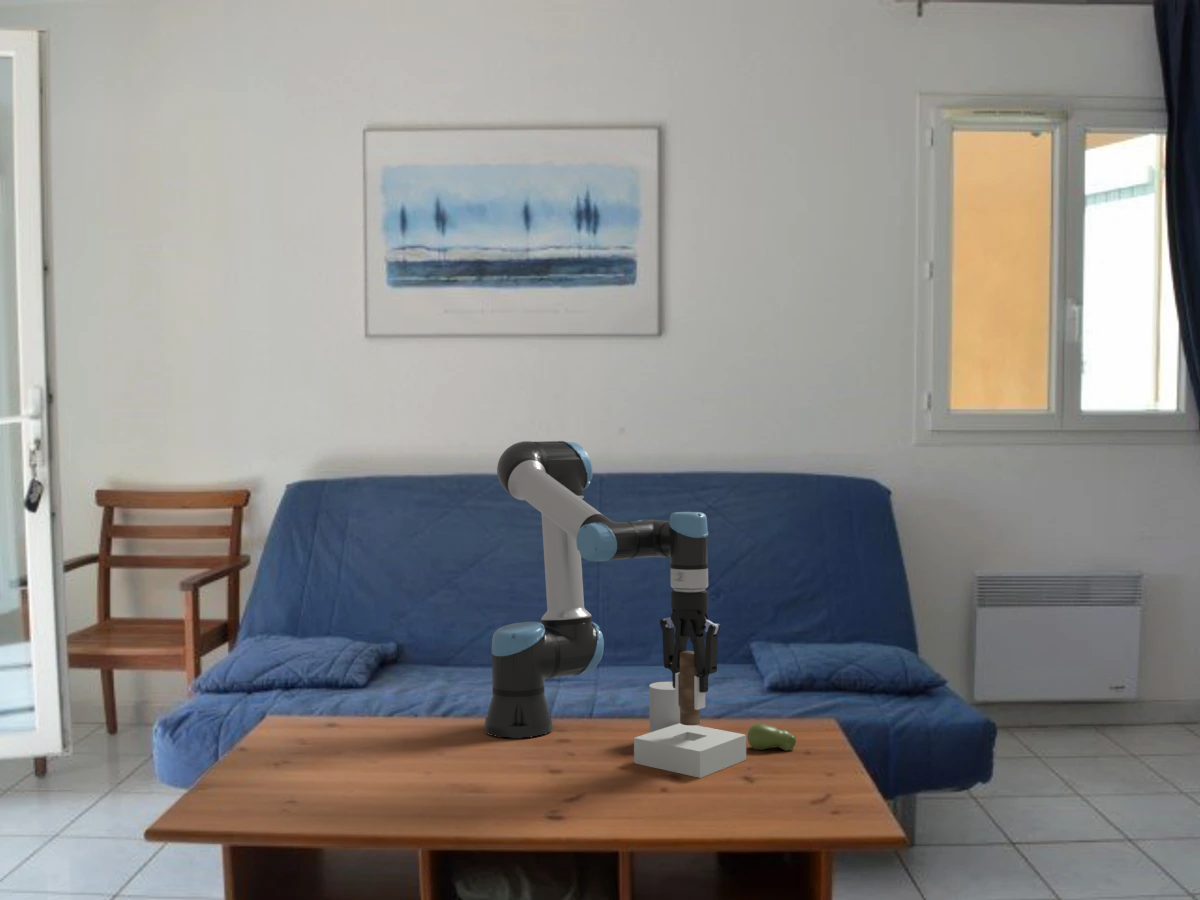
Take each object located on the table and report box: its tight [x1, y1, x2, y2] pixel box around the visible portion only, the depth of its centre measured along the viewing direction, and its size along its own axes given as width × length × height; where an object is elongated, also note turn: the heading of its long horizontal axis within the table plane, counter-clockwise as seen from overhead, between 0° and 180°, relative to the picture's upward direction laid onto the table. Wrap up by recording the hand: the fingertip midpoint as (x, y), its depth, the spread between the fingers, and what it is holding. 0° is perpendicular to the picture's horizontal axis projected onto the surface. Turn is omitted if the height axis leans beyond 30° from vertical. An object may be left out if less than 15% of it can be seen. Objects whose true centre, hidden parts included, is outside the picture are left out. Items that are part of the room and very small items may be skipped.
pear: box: [747, 723, 797, 752], centre depth 227 cm, size 6×5×10 cm
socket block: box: [633, 723, 747, 779], centre depth 218 cm, size 16×16×5 cm
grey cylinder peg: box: [648, 681, 680, 733], centre depth 233 cm, size 8×8×12 cm
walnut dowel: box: [680, 650, 701, 726], centre depth 218 cm, size 4×4×14 cm
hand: (690, 706), depth 218 cm, fingers closed on walnut dowel, 4 cm apart
